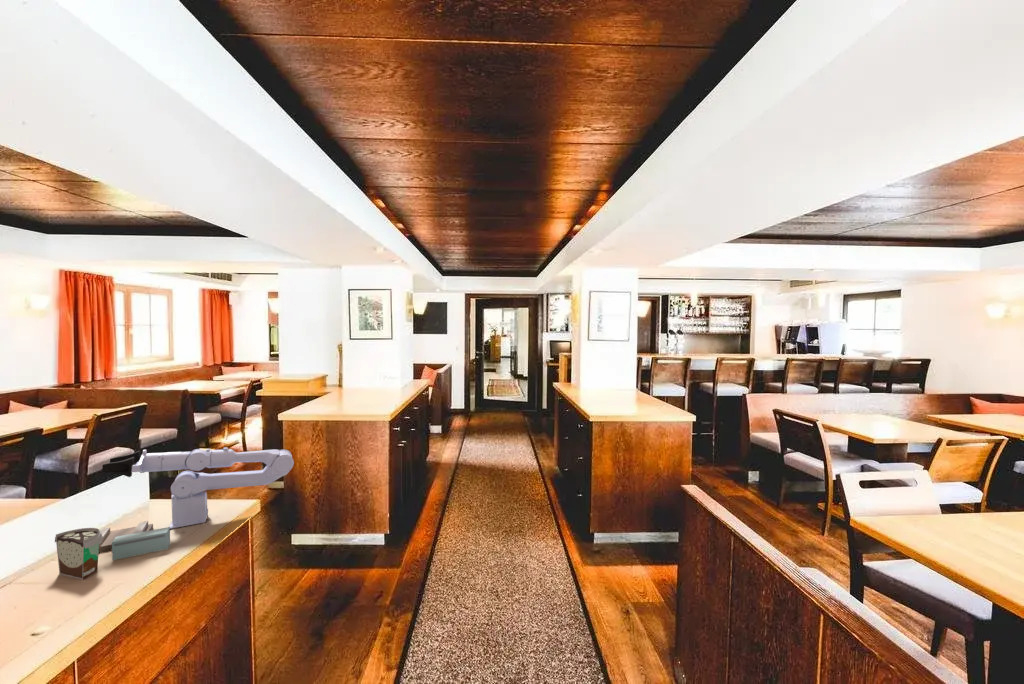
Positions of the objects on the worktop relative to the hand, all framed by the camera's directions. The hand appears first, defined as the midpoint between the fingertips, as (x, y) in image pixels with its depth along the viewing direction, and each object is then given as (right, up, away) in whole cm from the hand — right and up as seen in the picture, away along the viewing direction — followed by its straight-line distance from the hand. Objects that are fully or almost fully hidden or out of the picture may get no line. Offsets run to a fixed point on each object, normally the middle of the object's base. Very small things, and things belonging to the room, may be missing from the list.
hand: (106, 464), depth 136 cm
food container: (+13, -22, -20) cm, 32 cm away
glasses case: (+19, -22, -10) cm, 30 cm away
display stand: (+7, -22, -3) cm, 23 cm away
